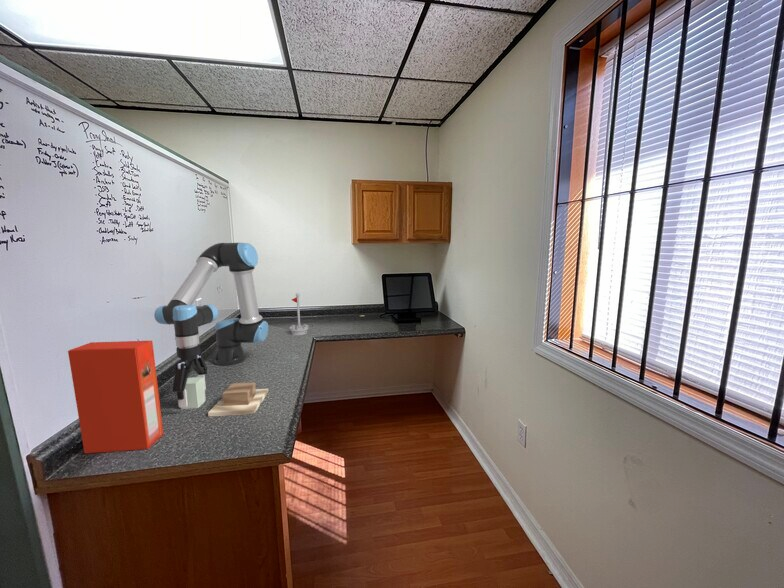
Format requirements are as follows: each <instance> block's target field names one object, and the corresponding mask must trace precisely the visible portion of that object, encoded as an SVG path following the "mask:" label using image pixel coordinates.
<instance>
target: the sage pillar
mask: <svg viewBox="0 0 784 588" xmlns="http://www.w3.org/2000/svg"><path fill="white" fill-rule="evenodd" d="M185 389H186V393H187V403H188V406H187V407H180V408H181V410H188V409H199V407H201V406H202V405H203V404H204V403H205V402H206V390H205V388H204V377H197V376H196V377H188V379H187V382H186V386H185Z"/></svg>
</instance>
